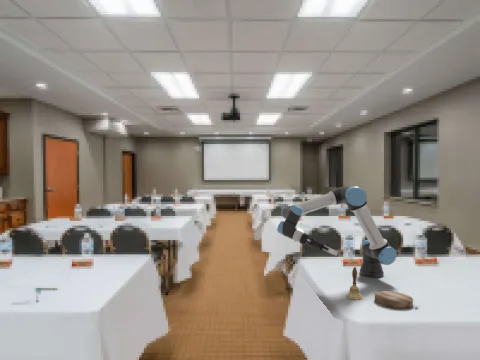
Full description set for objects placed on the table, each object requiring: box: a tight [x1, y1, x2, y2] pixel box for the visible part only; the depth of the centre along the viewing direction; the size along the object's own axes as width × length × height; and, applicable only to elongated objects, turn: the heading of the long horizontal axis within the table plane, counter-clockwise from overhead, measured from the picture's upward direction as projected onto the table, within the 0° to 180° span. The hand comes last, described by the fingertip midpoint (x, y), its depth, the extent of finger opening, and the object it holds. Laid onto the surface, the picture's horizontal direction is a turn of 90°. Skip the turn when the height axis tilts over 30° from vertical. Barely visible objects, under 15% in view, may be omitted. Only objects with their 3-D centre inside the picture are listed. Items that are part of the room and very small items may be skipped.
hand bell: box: [345, 266, 363, 301], centre depth 188 cm, size 8×8×16 cm
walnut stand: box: [374, 290, 414, 310], centre depth 180 cm, size 18×18×3 cm
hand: (335, 253), depth 198 cm, fingers open, 13 cm apart
